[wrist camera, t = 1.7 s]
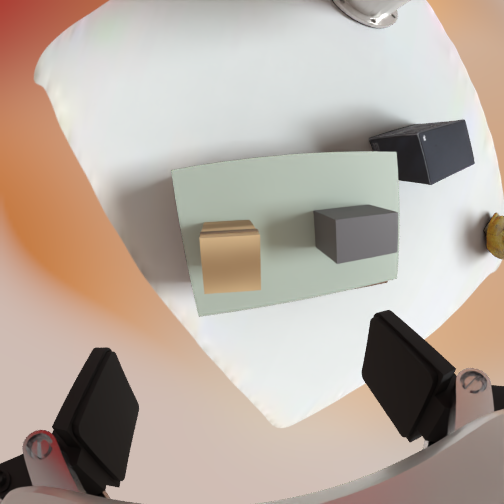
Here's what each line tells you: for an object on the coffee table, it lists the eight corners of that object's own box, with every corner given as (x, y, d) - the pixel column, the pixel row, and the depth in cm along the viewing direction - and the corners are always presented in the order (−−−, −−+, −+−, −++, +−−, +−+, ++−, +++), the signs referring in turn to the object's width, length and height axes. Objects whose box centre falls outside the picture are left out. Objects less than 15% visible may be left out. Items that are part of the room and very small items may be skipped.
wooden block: (203, 221, 23) (198, 237, 18) (250, 219, 24) (260, 233, 18) (206, 266, 24) (203, 294, 19) (251, 263, 25) (261, 290, 19)
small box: (381, 182, 34) (430, 188, 24) (367, 138, 32) (415, 130, 22) (428, 162, 34) (477, 165, 24) (417, 123, 32) (465, 117, 22)
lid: (173, 170, 23) (158, 169, 17) (388, 152, 25) (427, 150, 19) (199, 309, 27) (196, 346, 21) (390, 273, 29) (422, 296, 23)
